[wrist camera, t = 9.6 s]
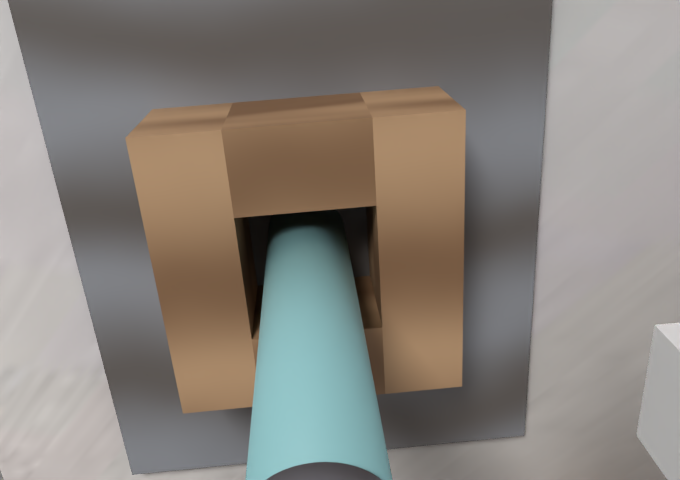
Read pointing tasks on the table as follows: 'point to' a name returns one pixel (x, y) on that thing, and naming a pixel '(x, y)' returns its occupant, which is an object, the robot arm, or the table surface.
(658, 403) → the robot arm
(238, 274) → the gray base plate
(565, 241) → the table surface
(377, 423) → the banded teal rod
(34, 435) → the table surface
